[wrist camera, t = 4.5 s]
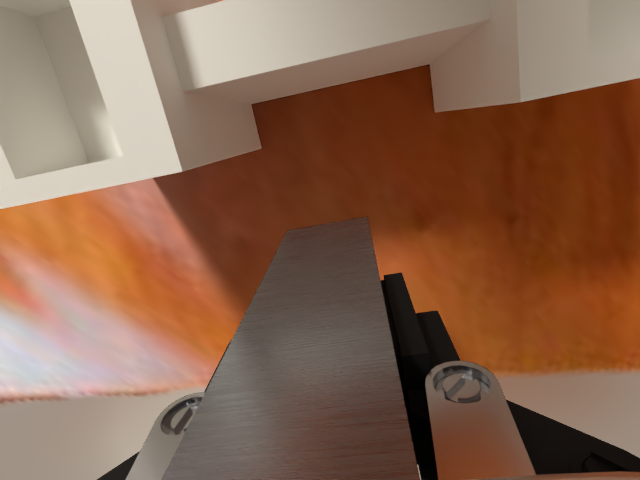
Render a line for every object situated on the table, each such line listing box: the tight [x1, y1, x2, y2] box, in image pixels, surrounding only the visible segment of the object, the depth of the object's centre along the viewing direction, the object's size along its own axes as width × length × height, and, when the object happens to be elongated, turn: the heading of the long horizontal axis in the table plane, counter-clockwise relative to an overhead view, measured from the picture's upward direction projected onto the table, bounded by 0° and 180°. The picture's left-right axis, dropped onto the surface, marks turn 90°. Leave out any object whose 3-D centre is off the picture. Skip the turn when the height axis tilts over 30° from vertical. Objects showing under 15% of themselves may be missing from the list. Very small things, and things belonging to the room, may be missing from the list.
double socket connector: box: [0, 0, 640, 209], centre depth 17 cm, size 8×27×12 cm, turn 101°
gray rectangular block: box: [161, 216, 420, 480], centre depth 9 cm, size 5×3×11 cm, turn 11°
